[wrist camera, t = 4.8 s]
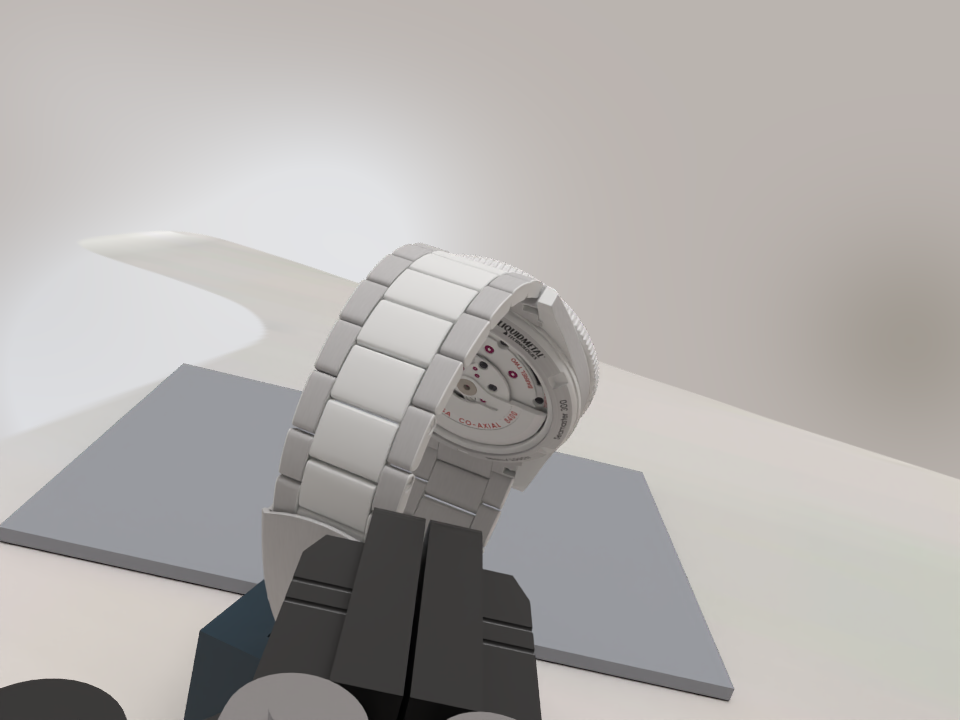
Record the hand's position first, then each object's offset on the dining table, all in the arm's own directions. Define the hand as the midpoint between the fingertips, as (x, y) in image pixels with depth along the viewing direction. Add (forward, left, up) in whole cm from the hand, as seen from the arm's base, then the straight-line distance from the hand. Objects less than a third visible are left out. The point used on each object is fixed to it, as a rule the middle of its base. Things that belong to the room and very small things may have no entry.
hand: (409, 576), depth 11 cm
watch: (0, -5, -8) cm, 9 cm away
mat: (0, -16, -7) cm, 18 cm away
